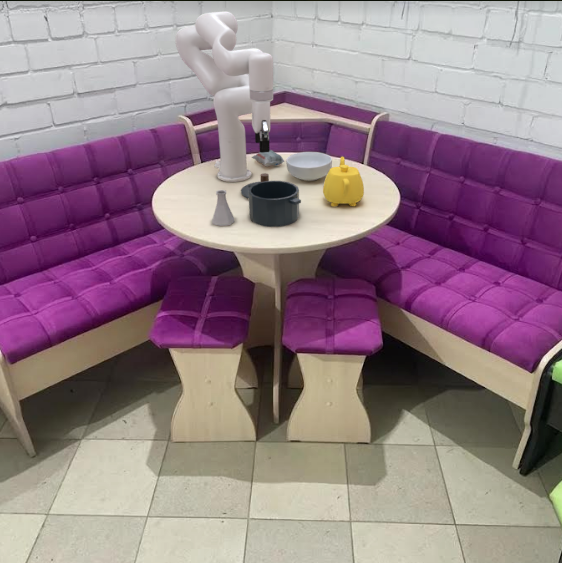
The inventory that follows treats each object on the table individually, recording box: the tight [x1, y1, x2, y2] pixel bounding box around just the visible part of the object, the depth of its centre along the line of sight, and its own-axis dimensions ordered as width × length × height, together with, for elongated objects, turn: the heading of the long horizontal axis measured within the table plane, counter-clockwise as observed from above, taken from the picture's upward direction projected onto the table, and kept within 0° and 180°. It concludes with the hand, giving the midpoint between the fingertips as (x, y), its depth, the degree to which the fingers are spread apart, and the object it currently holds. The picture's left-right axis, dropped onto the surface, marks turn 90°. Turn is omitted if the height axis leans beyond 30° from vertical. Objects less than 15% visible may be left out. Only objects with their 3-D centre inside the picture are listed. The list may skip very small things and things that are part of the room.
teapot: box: [322, 156, 365, 207], centre depth 187 cm, size 13×20×12 cm
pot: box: [247, 180, 302, 228], centre depth 177 cm, size 16×21×9 cm
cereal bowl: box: [285, 151, 333, 182], centre depth 207 cm, size 17×17×7 cm
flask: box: [211, 189, 235, 227], centre depth 174 cm, size 7×7×10 cm
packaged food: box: [251, 149, 285, 167], centre depth 220 cm, size 9×12×5 cm
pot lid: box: [240, 172, 270, 200], centre depth 194 cm, size 17×17×7 cm
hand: (262, 147), depth 188 cm, fingers open, 9 cm apart
